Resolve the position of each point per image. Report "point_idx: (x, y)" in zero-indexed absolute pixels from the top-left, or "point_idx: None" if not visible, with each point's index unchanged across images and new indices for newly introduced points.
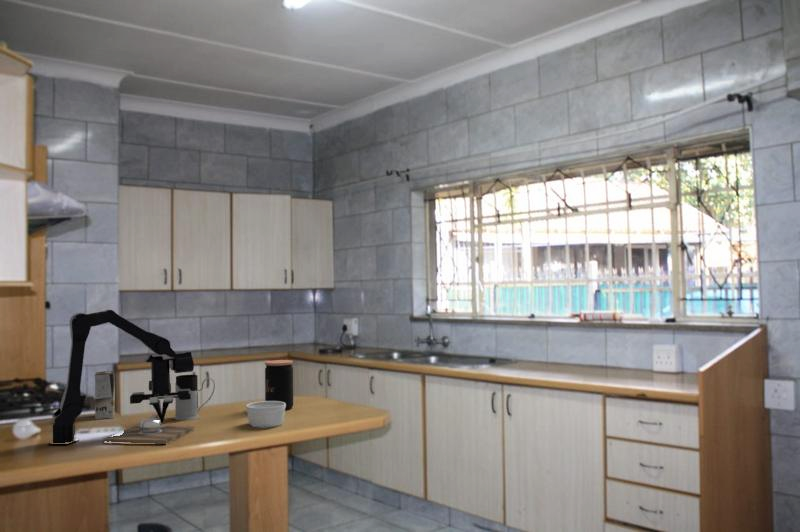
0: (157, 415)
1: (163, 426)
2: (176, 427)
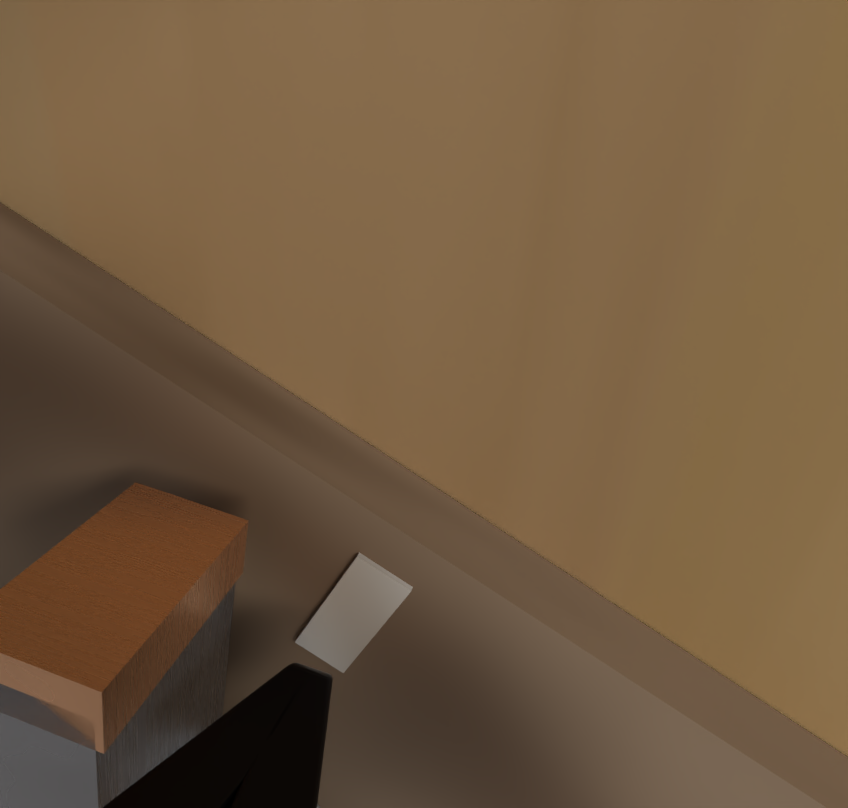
0: (116, 733)
1: (369, 635)
2: (583, 802)
